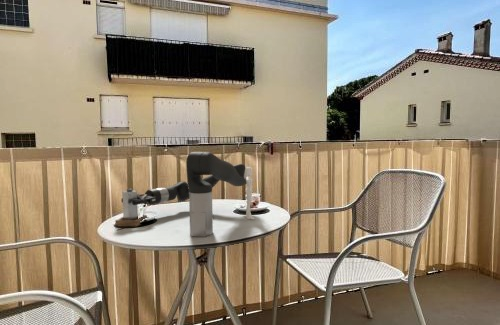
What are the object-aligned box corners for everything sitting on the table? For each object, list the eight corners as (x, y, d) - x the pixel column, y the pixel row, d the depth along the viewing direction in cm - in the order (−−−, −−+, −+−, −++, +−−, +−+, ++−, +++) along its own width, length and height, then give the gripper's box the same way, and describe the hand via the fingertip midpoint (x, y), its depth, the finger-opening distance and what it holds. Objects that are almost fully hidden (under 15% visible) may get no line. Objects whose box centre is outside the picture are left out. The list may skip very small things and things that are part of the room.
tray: (137, 226, 137) (136, 220, 137) (115, 225, 138) (115, 220, 138) (147, 220, 147) (146, 215, 147) (126, 219, 148) (126, 214, 148)
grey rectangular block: (137, 221, 143) (136, 188, 141) (128, 223, 139) (127, 190, 138) (132, 219, 145) (131, 188, 144) (123, 221, 142) (122, 189, 141)
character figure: (255, 226, 137) (254, 169, 135) (244, 226, 137) (243, 169, 135) (254, 212, 161) (253, 164, 159) (244, 212, 161) (244, 164, 159)
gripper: (166, 205, 149) (136, 212, 136) (148, 201, 158) (118, 207, 145) (166, 189, 149) (136, 195, 136) (147, 187, 157) (118, 191, 144)
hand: (127, 201), depth 140 cm, fingers open, 8 cm apart
